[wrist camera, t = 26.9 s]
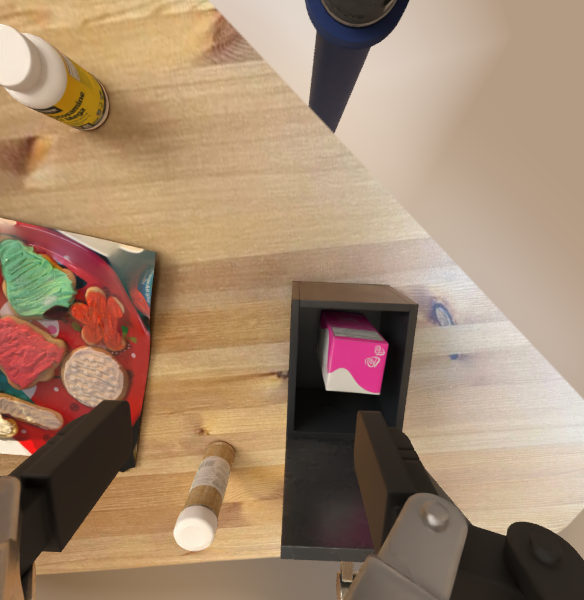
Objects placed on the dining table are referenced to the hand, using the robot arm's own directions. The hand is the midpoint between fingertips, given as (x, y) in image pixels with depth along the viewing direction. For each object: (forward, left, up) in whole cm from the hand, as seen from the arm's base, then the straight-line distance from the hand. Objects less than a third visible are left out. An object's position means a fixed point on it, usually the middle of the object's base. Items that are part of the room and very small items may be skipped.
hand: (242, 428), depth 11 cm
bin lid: (+10, +12, -13) cm, 20 cm away
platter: (+22, -30, -32) cm, 49 cm away
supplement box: (+4, +10, -32) cm, 33 cm away
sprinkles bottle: (+28, +1, -32) cm, 43 cm away
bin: (+5, +10, -32) cm, 34 cm away
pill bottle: (-11, -29, -32) cm, 45 cm away
